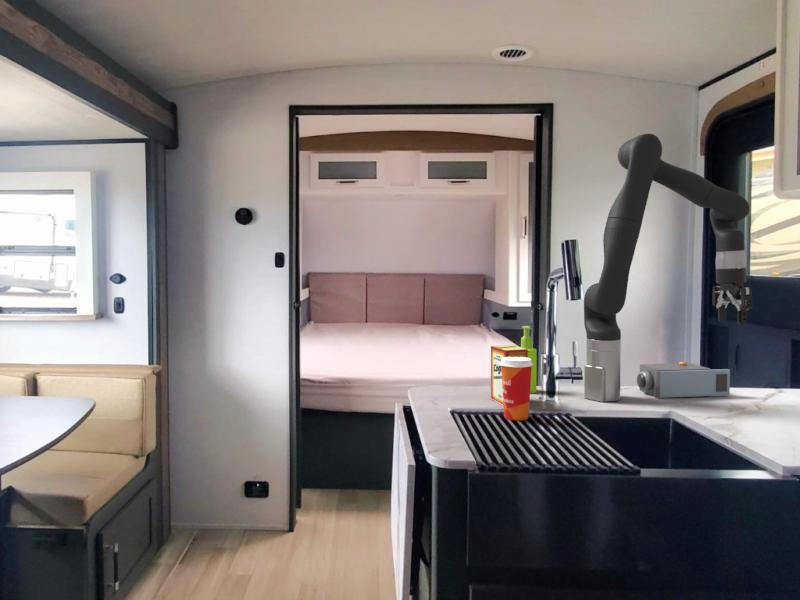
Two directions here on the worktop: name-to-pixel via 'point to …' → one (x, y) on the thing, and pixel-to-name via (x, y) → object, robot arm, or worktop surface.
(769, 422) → the worktop surface
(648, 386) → the camera housing
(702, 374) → the side door
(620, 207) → the robot arm
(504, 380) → the coffee cup
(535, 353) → the soap dispenser
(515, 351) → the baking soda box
